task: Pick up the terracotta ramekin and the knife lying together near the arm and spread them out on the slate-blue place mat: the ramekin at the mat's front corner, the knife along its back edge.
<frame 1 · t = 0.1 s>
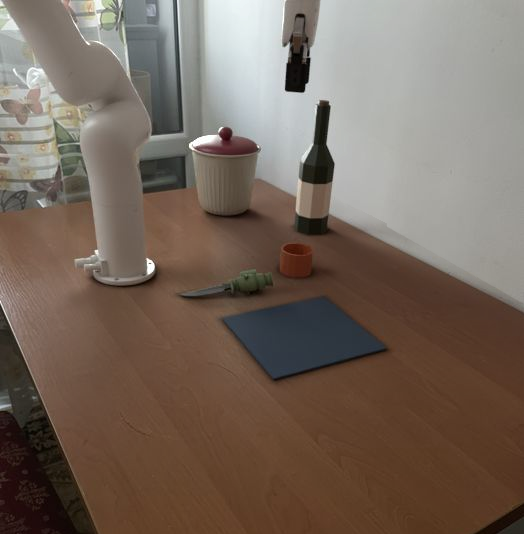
hand: (297, 87, 90), 37 cm above the table, tool pointing down, fingers open, 9 cm apart
knife: (226, 293, 108), on the table
canister: (224, 210, 148), on the table
ramekin: (295, 270, 118), on the table
wine bottle: (310, 229, 139), on the table
mat: (301, 334, 97), on the table
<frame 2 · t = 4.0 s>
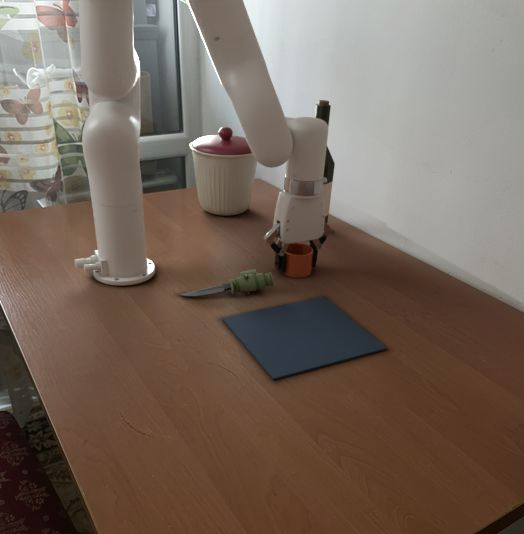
hand: (295, 267, 118), 1 cm above the table, tool pointing down, fingers closed on ramekin, 6 cm apart
ramekin: (295, 270, 118), on the table, touching gripper
everything else where it was.
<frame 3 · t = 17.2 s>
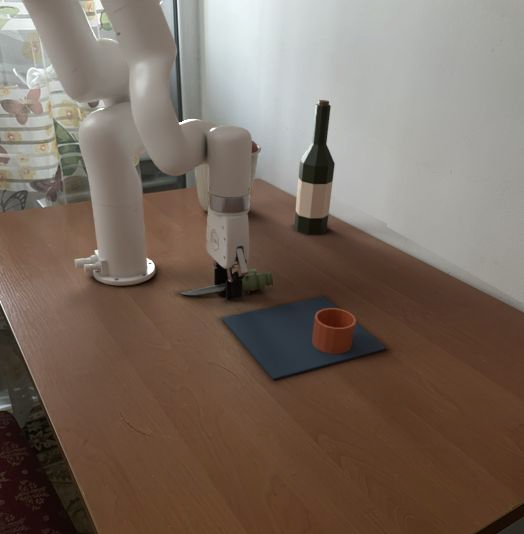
hand: (228, 290, 108), 1 cm above the table, tool pointing down, fingers closed on knife, 4 cm apart
knife: (226, 293, 108), on the table, touching gripper
ramekin: (331, 343, 94), resting on mat
everything else where it was.
when the fingers open (3 cm above the table, at t = 23.0 s): knife stays where it is, resting on mat.
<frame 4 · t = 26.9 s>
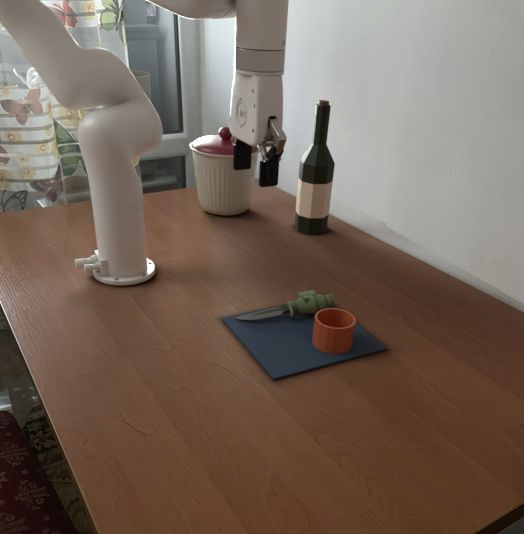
hand: (254, 177, 91), 24 cm above the table, tool pointing down, fingers open, 9 cm apart
knife: (284, 316, 101), resting on mat
everything else where it was.
at the end: ramekin 0.0 cm from the target spot on the mat, point 0.4 cm above the mat's base; knife 0.2 cm from the target spot on the mat, point 0.2 cm above the mat's base; ramekin tilted 0° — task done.
